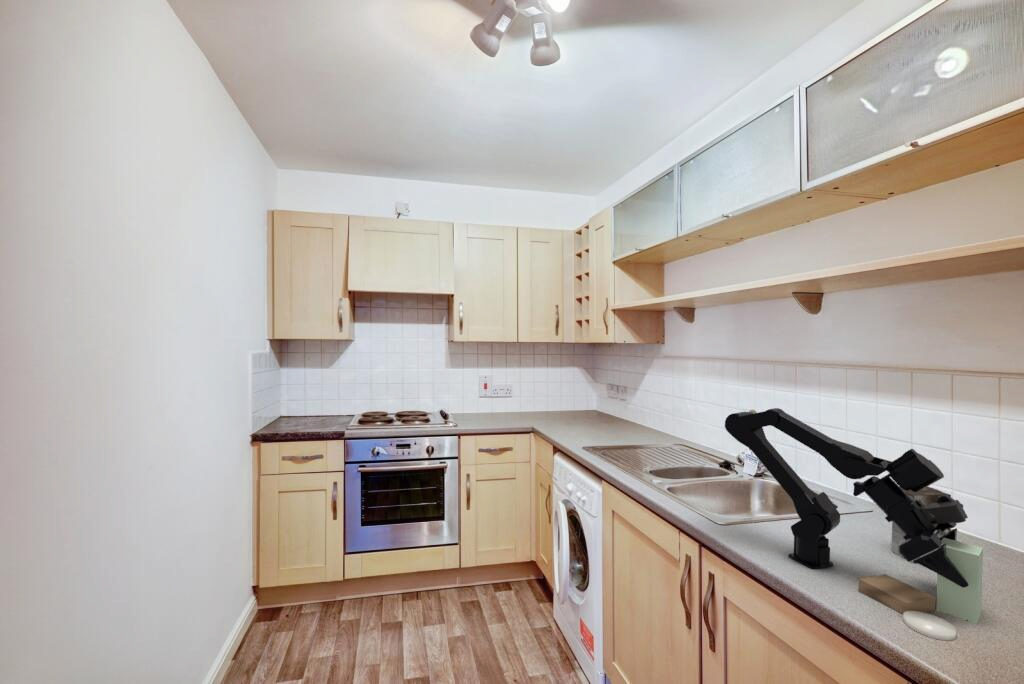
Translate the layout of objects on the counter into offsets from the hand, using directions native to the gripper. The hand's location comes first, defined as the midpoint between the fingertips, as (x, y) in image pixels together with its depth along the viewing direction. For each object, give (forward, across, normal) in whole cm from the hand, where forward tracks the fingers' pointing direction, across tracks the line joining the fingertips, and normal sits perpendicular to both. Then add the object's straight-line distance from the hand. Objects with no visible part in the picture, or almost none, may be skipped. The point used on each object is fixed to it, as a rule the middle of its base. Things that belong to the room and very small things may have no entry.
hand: (969, 579), depth 87 cm
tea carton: (+4, 0, +6) cm, 7 cm away
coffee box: (-3, +24, +13) cm, 27 cm away
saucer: (+2, -11, +8) cm, 14 cm away
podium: (-2, -5, +12) cm, 13 cm away
